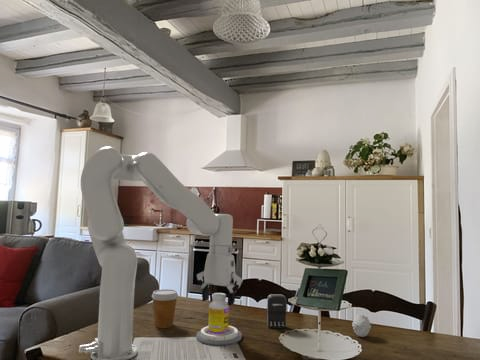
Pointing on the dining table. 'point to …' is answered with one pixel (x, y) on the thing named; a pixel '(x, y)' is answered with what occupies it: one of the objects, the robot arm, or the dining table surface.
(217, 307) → the supplement bottle
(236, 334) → the round holder
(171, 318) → the disposable coffee cup
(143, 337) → the dining table surface
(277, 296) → the battery
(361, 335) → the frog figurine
